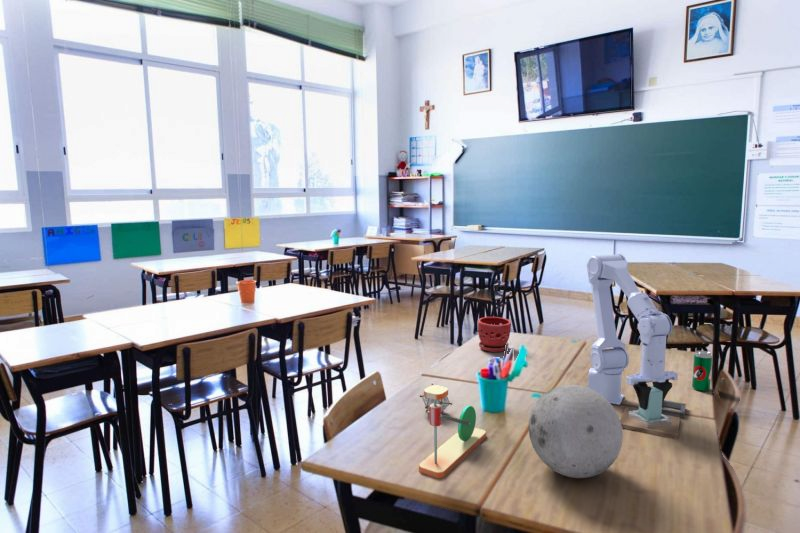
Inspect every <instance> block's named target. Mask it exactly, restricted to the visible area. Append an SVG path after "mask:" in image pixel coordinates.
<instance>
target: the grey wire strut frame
mask: <svg viewBox="0 0 800 533" xmlns="http://www.w3.org/2000/svg"><path fill="white" fill-rule="evenodd" d="M431 385H434V384H433V383H431ZM419 398H421V399H422V402H423V403H424V409H426V410H425V413H428V411H429V406H430V405H431V404H434V400H433V399H429V398H426V397H425V396H424V394H422V395H421V394H420V395H419ZM436 403H437V404H440V405H441V413H442V412H443V411H444V410H445V409H446V408H448V406H449V405H450V406H452V405H453V403H452V402H450V400H449V398H448V395H447V396H446V397H445V398H443V399H441V400H436Z"/></svg>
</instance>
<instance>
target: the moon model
mask: <svg viewBox="0 0 800 533" xmlns="http://www.w3.org/2000/svg"><path fill="white" fill-rule="evenodd" d="M620 419H621V418H620V417H619V414H618V413H617V410H616V409H615V408H614V406H613V404H612V403H609V401H608V400H607V399H606V398H604V397H603V396H602V395H601V394H599V393H597V392H596V391H594V390H592V389H590V388H588V386H583V385H576V384H565V385H559V386H556V387H554V388H552V389H550V390H548V391H547V392H545V393H543V394H542V395H541V396H540V397H539V399H538V400H537V401H536V402H535V404H534V405H533V407H532V410H531V413H530V416H529V420H528V435H529V439H530V443H531V446H532V448H533V449H534V452H535V453H536V455H537V456H538V458H539V459H540V460H541V461H542V463H544V465H545V466H547V467H548V468H550V470H552V471H554V472H556V473H558V474H560V475H561V476H564V477H568V478H574V479H586V478H592V477H596V476H597V475H600V474H602V473H603V472H605V471H606V470H608V469H609V468H610V467H611V466H612V465H613V464H614V462H615V461H616V460H617V458H618V456H619V454H620V452H621V449H622V446H623V438H624V436H623V428H622V426H621V422H620Z"/></svg>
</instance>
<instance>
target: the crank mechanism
mask: <svg viewBox="0 0 800 533" xmlns="http://www.w3.org/2000/svg"><path fill="white" fill-rule="evenodd" d="M423 395H424V396H425V397H426V398H429V399H433V400H434V404H431V405H430V406H429V415H428V416H429V417H428V418H429V425H430V426H432V427H433V429H434V430H433V431H434V435H433V436H434V443H433V444H434V446H433V447H434V450H433V451H432V453H430V454H429V455H428V456H427V457H426V458H424V459H423V460H422V461H421V462H420V463H419V464H418V471H419V473H421V474H423V475H426V476H430V477H433V478H436V479H442V478H444V477H445V476H447V475H448V474H449V473H450V472H451V471H452V470H453V469H454V468H456V466H458V464H460V462H462V461H463V460H464V459H465V458H466V457H467V456H468V455H469V454H470V453H472V451H473V450H474V449H476V447H478V445H480V444H481V443H482V442H483V441H484V440H485V439H486V438H487V431H486V430H485V429H481V428H477V427H476V422H477V413H476V409H475V407H474V406H472V405H466V406H465V407H464V408H463V410H462V411H461V413H460V416H459V418H458V417H457V418H456V417H453V416H449V415H446V414H442V412H441V405H440V404H437V403H436V400H441V399H443V398H445V397H446V396H447V397H448V395H449V388H448V387H446V386H442V385H438V384H437V385H436V384H433V385H432V384H431V385H429V386H427V387H425V388H424V389H423ZM442 419H444V420H447V421H450V422H455V423H458V424H457V432H456V433H455V434H453V435H451V437H449V438H448V439H447V440H446V441H444V443H443V444H441V445H440V446H439V447H438V446H437V445H438V435H437V434H438V433H437V429H438V428H437V427H440V426H441V425H442Z"/></svg>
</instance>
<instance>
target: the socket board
mask: <svg viewBox="0 0 800 533" xmlns="http://www.w3.org/2000/svg"><path fill="white" fill-rule="evenodd" d="M638 411H639V409H637V408H636V409H635V408H631V407H625V408H624V410H623V412H622V414H621V417H620V418H619V419H620V422H621V426H622V429H626V430H631V431H637V432H640V433H641V432H642V433H646V434H651V435H656V436H661V437H665V438H669V439H670V438H671V439H676V440H677V439H678V435H679V431H680V425H681V424H680V423H681V418H680V417H674V416H669V415H663V414H661V419H657V420H650V421H648V420H646V419H645V418H643V417H641V416H640V415H638Z"/></svg>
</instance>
